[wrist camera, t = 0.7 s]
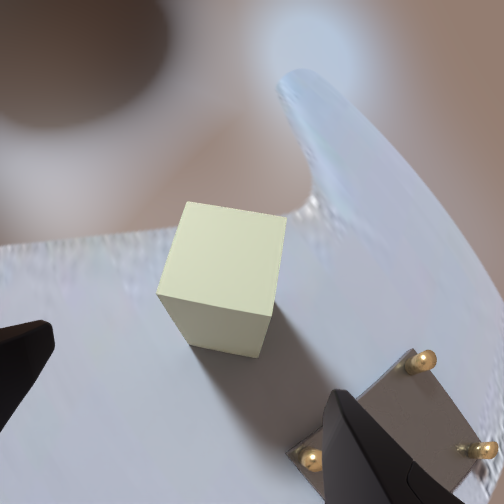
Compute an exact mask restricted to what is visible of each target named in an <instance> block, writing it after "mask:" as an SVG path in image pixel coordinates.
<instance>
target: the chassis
mask: <svg viewBox="0 0 504 504" xmlns="http://www.w3.org/2000/svg"><path fill="white" fill-rule="evenodd" d="M436 362H437V358H436V355H435V353H434V352H433V351H431V350H426V351H423V352H421V353H419V354H417V352H416V351H415V350H414V349H413V348H412V349H410V350H408V351H407V352H406V353H405V354H404V355H403V356H402V357H401V358H400V359H399V360H398V361H397V362H396V363H395V364H394V365H393V366H392V367H391V368H390V369H388V370H387V371H386V372H385V373H384V374H383V375H382V376H381V377H380V378H379V379H378V380H377V381H376V382H375V383H373V384H372V385H371V386H370V387H369V388H368V389H367V390H366V391H364V392H363V393H362V394H361V395H360V396H359V397H358V398H356V400H357V401H358V402H359V404H360V405H361V406H362V407H363V408H364V409H365V410H366V411H367V412H368V413H369V414H370V415H371V416H372V417H373V418H374V419H375V420H376V421H377V422H378V423H379V424H380V425H381V426H382V427H383V429H384V430H385V431H386V432H387V433H388V434H389V435H390V436H391V437H392V438H393V439H394V440H395V441H396V442H397V443H398V444H399V445H400V446H401V447H402V448H403V449H404V450H405V451H406V452H407V453H408V454H409V455H410V456H411V457H412V458H413V461H416V462H417V463H418V464H419V465H420V466H421V467H422V468H423V469H424V470H425V471H426V472H427V473H428V474H429V475H430V476H431V477H432V478H434V479H435V480H436V481H437V482H438V483H439V484H441V485H442V486H443V487H444V488H445V489H447V490H448V491H449V492H450V491H451V490H452V489H453V488H454V487H455V486H456V485H457V484H458V482H459V481H460V480H461V479H462V478H463V477H464V475H465V474H466V473H467V472H468V471H469V469H470V468H471V467H472V466H473V464H474V463H475V462H476V461H477V459H492V458H494V457H495V456H496V454H497V452H498V444H497V442H481V441H480V440H479V438H478V437H477V435H476V434H475V432H474V431H473V429H472V428H471V426H470V425H469V423H468V422H467V421H466V419H465V418H464V416H463V415H462V413H461V412H460V411H459V409H458V408H457V406H456V405H455V404H454V402H453V401H452V399H451V398H450V397H449V395H448V394H447V392H446V391H445V390H444V388H443V387H442V386H441V384H440V383H439V382H438V380H437V379H436V378H435V376H434V375H433V374H432V372H431V371H430V369H432V368H434V367H435V365H436ZM322 438H323V426H322V427H321V428H319V429H318V430H317V431H315V432H314V433H313V434H311V435H310V436H309V437H307V438H306V439H305V440H303V441H302V442H300V443H299V444H298V445H296V446H295V447H293V448H292V449H291V450H289V451H288V452H286V455H287V456H288V457H289V458H290V459H291V461H292V462H293V463H294V464H295V466H296V467H297V468H298V469H299V470H300V472H301V473H302V474H303V475H304V476H305V478H306V479H307V480H308V481H309V482H310V484H311V485H312V486H313V487H314V488H315V489H316V490H317V492H318V493H319V494H320V495H321V496H322V497H323V498H324V500H325V496H324V482H323V470H322Z"/></svg>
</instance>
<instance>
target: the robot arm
mask: <svg viewBox="0 0 504 504" xmlns="http://www.w3.org/2000/svg"><path fill="white" fill-rule="evenodd" d="M54 348H55V341H54V335H53V328H52V325H51V324H50V323H49V322H46V321H44V320H37V321H33V322H28V323H23V324H19V325H14V326H10V327H5V328H0V432H1V431H2V429H3V428H4V426H5V425H6V423H7V422H8V420H9V419H10V417H11V416H12V414H13V413H14V411H15V410H16V408H17V407H18V406H19V404H20V403H21V401H22V400H23V398H24V397H25V396H26V394H27V393H28V391H29V390H30V389H31V387H32V386H33V384H34V383H35V381H36V380H37V378H38V376H39V375H40V373H41V371H42V369H43V368H44V366H45V364H46V363H47V361H48V359H49V358H50V356H51V354H52V353H53V351H54ZM322 470H323V482H324V496H325V504H465V503H463V502H462V501H461V500H460V499H458V498H457V497H456V496H454V495H453V494H452V493H451V492H449V491H448V490H447V489H445V488H444V487H443V486H442V485H441V484H439V483H438V482H437V481H436V480H435V479H434V478H432V477H431V476H430V475H429V474H428V473H427V472H426V471H425V470H424V469H423V468H422V467H421V466H420V465H419V464H418V463H417V462H416V461H413V458H412V457H411V456H410V455H409V454H408V453H407V452H406V451H405V450H404V449H403V448H402V447H401V446H400V445H399V444H398V443H397V442H396V441H395V440H394V439H393V438H392V437H391V436H390V435H389V434H388V433H387V432H386V431H385V430H384V429H383V427H382V426H381V425H380V424H379V423H378V422H377V421H376V420H375V419H374V418H373V417H372V416H371V415H370V414H369V413H368V412H367V411H366V410H365V409H364V408H363V407H362V406H361V405H360V404H359V402H358V401H357V400H356V399H355V398H354V397H353V396H352V395H351V394H350V393H349V392H348V391H347V390H341V389H334V390H332V392H331V394H330V396H329V399H328V402H327V404H326V407H325V409H324V414H323V438H322Z"/></svg>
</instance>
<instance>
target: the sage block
mask: <svg viewBox="0 0 504 504" xmlns="http://www.w3.org/2000/svg"><path fill="white" fill-rule="evenodd" d="M286 221H287V218H286V217H280V216H274V215H269V214H262V213H257V212H251V211H245V210H239V209H232V208H226V207H220V206H214V205H207V204H200V203H194V202H187V203H186V206H185V208H184V211H183V214H182V217H181V220H180V222H179V225H178V228H177V231H176V234H175V237H174V240H173V243H172V246H171V249H170V251H169V255H168V258H167V261H166V264H165V267H164V270H163V273H162V276H161V279H160V282H159V286H158V289H157V292H156V294H157V296H158V298H159V299H160V301H161V302H162V304H163V306H164V307H165V309H166V310H167V312H168V314H169V315H170V317H171V318H172V320H173V321H174V323H175V325H176V326H177V328H178V329H179V331H180V332H181V334H182V335H183V337H184V338H185V340H186V341H187V343H188V344H189V345H192V346H197V347H202V348H206V349H211V350H216V351H221V352H226V353H231V354H236V355H241V356H247V357H252V358H258V357H259V354H260V351H261V348H262V345H263V342H264V339H265V336H266V332H267V329H268V326H269V323H270V320H271V317H272V311H273V305H274V299H275V293H276V287H277V280H278V274H279V268H280V261H281V255H282V248H283V241H284V235H285V228H286Z"/></svg>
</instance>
